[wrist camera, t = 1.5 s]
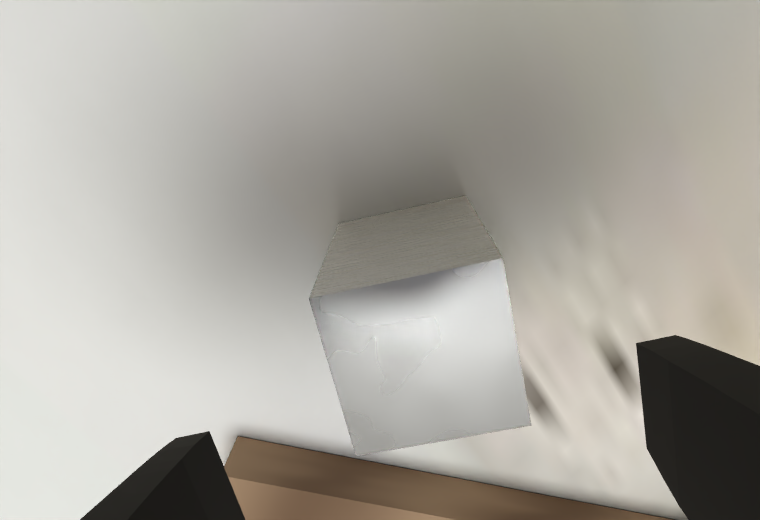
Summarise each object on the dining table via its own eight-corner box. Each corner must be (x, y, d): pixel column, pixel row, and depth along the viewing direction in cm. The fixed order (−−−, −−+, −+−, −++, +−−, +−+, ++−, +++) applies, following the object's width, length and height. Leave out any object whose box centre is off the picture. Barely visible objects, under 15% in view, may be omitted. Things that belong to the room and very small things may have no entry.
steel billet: (465, 195, 16) (503, 257, 10) (486, 312, 17) (531, 425, 12) (338, 223, 17) (308, 298, 11) (368, 335, 18) (355, 456, 12)
